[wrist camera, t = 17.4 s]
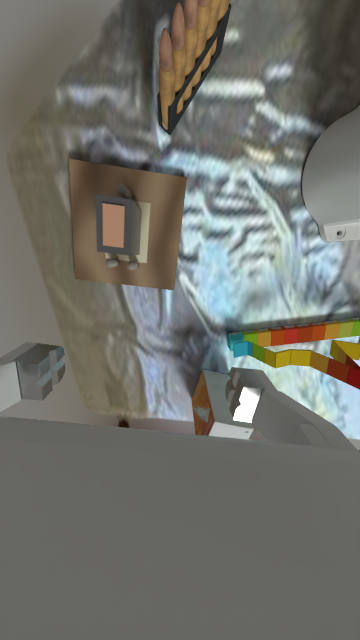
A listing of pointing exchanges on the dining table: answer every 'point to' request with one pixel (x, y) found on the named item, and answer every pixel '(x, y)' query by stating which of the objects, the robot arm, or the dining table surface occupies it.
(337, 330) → the chart
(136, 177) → the board
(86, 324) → the dining table surface
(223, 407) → the small box
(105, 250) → the plug block
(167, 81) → the ammunition clip
